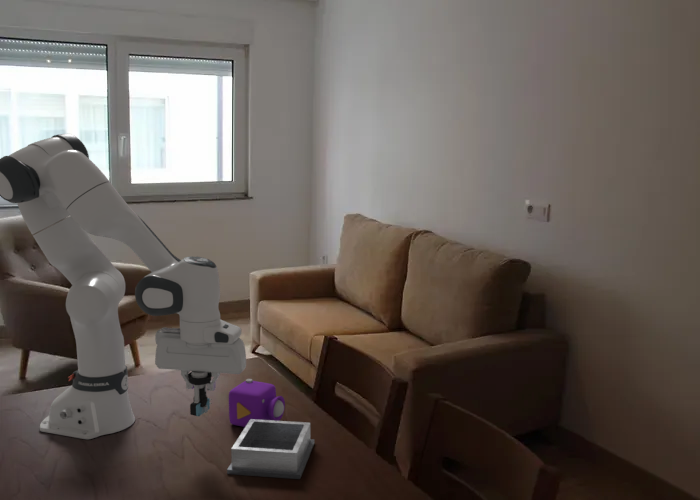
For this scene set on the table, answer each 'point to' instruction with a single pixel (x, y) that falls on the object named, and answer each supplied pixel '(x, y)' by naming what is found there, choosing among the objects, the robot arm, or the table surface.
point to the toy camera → (254, 403)
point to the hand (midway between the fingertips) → (201, 388)
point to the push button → (199, 392)
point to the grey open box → (272, 449)
